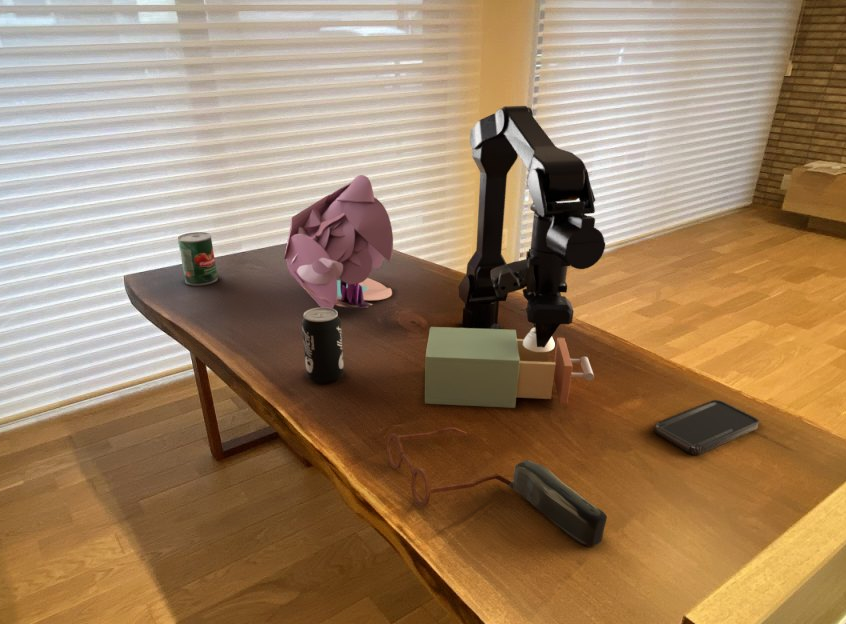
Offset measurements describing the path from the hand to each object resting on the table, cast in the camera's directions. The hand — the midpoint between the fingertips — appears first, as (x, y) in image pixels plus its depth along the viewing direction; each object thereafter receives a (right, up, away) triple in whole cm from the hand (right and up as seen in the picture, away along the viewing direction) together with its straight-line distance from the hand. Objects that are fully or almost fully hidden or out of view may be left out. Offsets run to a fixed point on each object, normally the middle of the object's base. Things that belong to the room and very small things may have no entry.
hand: (539, 341), depth 99 cm
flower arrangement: (-35, +14, +45) cm, 58 cm away
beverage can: (-36, -6, +10) cm, 38 cm away
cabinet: (-11, -8, +6) cm, 14 cm away
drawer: (0, -7, +4) cm, 8 cm away
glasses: (-16, -19, -15) cm, 29 cm away
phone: (+24, -14, -6) cm, 28 cm away
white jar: (0, -1, +1) cm, 1 cm away
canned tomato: (-72, +19, +54) cm, 92 cm away
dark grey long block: (-4, -23, -22) cm, 32 cm away
